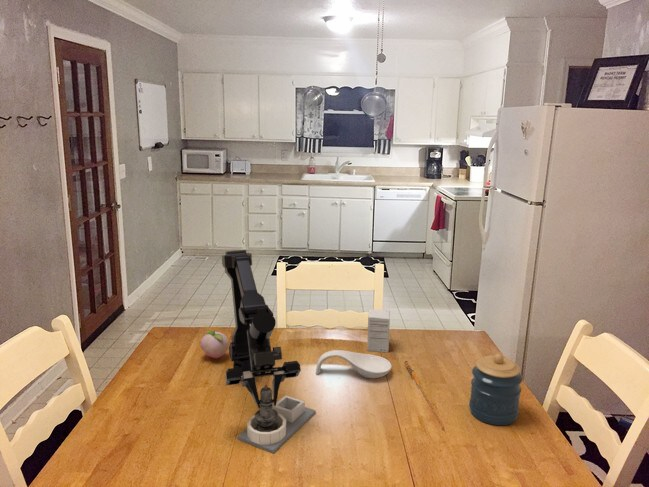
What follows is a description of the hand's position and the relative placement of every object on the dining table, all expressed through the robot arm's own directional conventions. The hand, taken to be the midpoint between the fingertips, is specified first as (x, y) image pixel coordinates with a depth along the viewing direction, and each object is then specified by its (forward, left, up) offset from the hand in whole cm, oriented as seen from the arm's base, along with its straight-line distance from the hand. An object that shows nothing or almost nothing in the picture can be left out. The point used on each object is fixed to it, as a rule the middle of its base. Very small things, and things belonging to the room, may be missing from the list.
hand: (267, 406), depth 130 cm
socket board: (-6, -1, -9) cm, 11 cm away
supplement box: (-62, +3, -9) cm, 63 cm away
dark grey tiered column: (-1, -1, -7) cm, 7 cm away
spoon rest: (-41, +4, -9) cm, 42 cm away
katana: (-40, +27, -9) cm, 49 cm away
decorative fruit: (-27, -40, -9) cm, 49 cm away
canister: (-41, +47, -9) cm, 63 cm away
